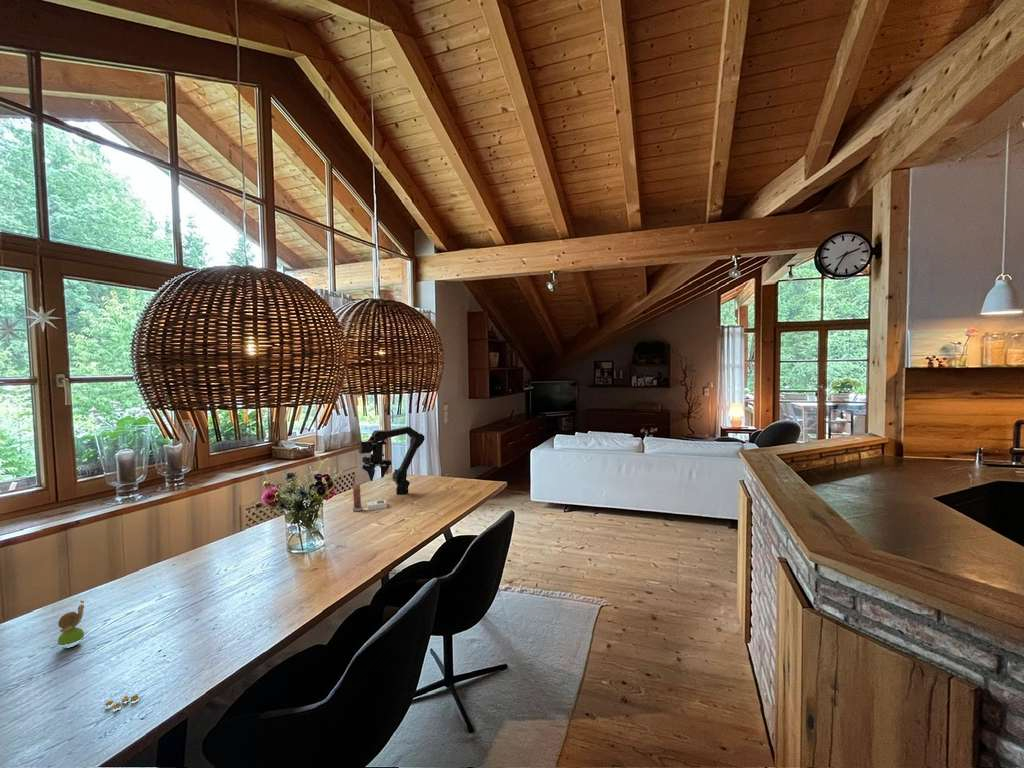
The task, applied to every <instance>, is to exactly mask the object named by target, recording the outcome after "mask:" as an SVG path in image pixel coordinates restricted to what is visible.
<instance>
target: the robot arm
mask: <svg viewBox="0 0 1024 768" xmlns="http://www.w3.org/2000/svg"><path fill="white" fill-rule="evenodd" d="M403 435H407V436H408V437H410V440H409V441H410V443H409V447H408V449H407V451H406V454H405V456H404V458H403V460H402V463H401V464H400V466H399V467H398V469H396V468H395V469H394V472H393V473H392V477H391V478H392V481H393V482H394V483H395V485H396V487H395V493H396V494H395V495H397V496H399V495H400V496H401V495H403V496H404V495H407V494H409V486H410V484H411V482H410V481H409V480H408V479H407V477H408V470H409V468H410V465H411V464H412V461H413V459H414V457H415V454H416V452H417V450H418V449H419V448H420V447H421V445H422V444H423V443H424V442H425V435H424V434H423V433H419V432H418V431H416V430H415V429H413V428H412V427H411V426H404V427H399V428H394V429H387V430H384V429H383V430H382V429H381V430H379V429H378V430H377V429H376V430H373V432H372V433H371V436H370V437H369V438H368V440H367V441H362V440H361V441H360V442H359V445H358V453H359V454H361V455H363V454H370V455H369V457H367V456H363V457H362V460H361V461H362V463H363V464H362V466H361V467H362V470H364V471H366V473H367V474H368V477H369V480H370V481H371V482H372V481H373V480H374V476H375V473H376V467H379V469H380V477H381V479H383V478H384V476H385V475H386V474H387V471H388V469H389V468H390V467H391V465H392V460H390V459H385V458H384V459H383V457H384V456H385V453H384V452H383V451H384V445H387V442H385V440H387V439H389V438H392V437H396V436H397V437H398V436H403Z"/></svg>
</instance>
